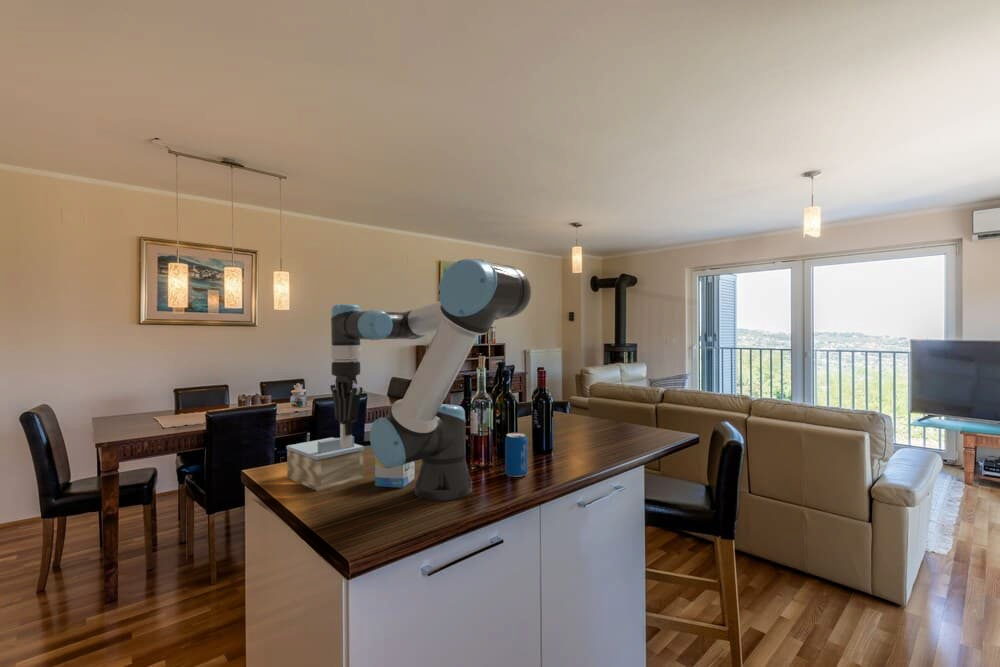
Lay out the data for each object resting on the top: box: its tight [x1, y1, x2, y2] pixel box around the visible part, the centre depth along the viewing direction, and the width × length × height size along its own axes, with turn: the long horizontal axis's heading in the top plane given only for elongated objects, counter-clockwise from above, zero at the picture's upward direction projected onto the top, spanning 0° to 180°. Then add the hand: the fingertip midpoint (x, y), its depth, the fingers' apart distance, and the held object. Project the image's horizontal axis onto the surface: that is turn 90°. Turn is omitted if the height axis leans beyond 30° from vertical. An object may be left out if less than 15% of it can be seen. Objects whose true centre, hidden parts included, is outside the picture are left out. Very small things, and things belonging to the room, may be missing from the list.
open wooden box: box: [286, 449, 364, 492], centre depth 133 cm, size 18×14×8 cm
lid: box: [285, 435, 365, 460], centre depth 133 cm, size 18×14×4 cm
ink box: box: [374, 456, 415, 489], centre depth 129 cm, size 8×8×12 cm
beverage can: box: [504, 432, 528, 477], centre depth 134 cm, size 6×6×12 cm
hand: (346, 446), depth 125 cm, fingers closed
